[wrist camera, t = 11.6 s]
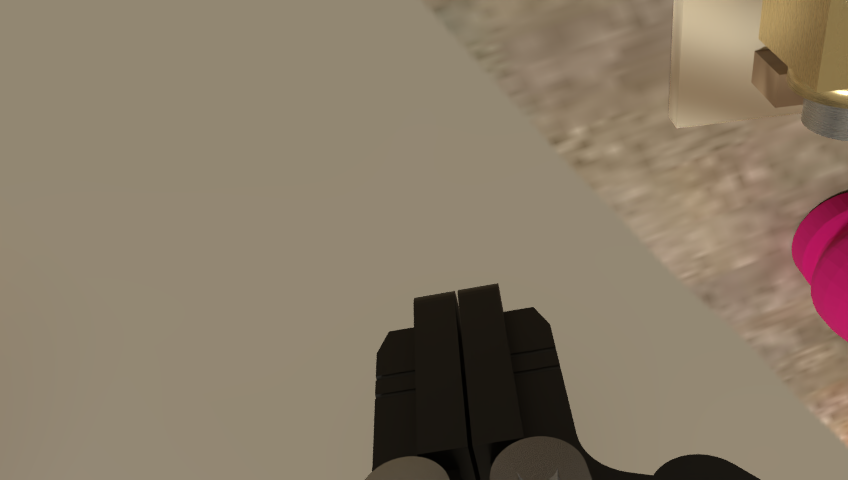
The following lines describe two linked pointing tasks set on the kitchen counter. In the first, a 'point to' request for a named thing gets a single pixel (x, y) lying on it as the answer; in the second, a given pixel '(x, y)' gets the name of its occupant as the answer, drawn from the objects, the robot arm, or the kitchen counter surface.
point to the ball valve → (812, 58)
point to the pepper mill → (826, 260)
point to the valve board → (724, 66)
